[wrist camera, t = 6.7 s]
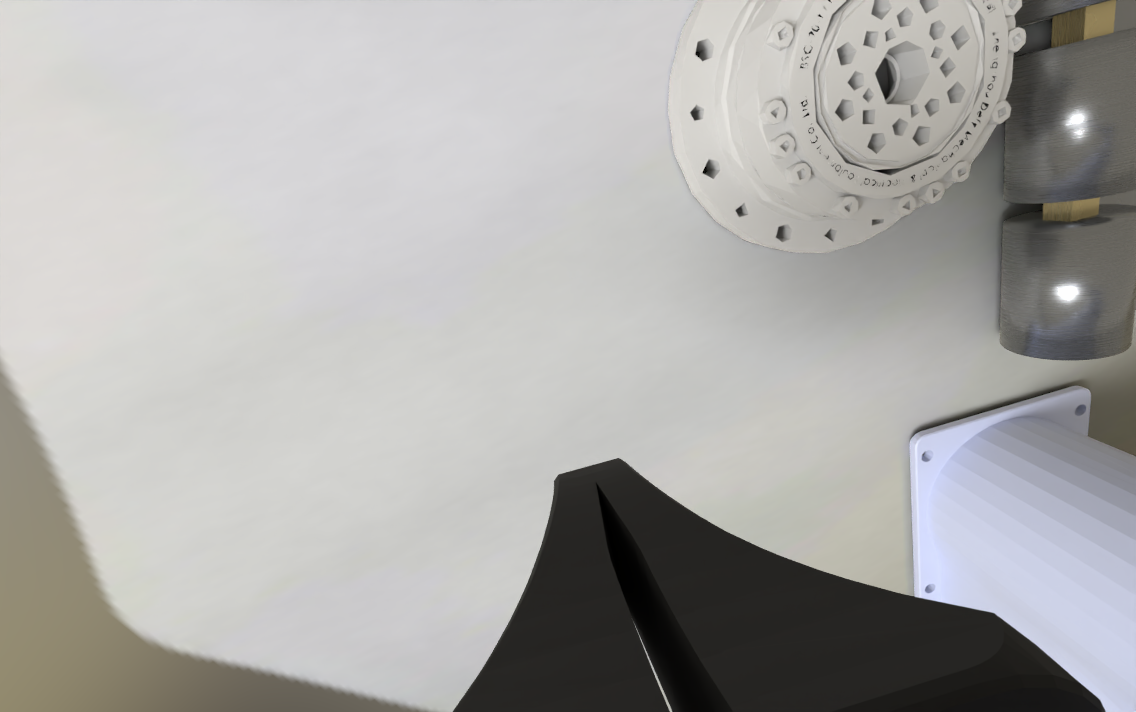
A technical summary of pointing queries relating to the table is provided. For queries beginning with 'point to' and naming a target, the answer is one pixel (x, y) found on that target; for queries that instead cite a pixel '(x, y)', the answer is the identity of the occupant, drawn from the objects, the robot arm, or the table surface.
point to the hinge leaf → (1072, 185)
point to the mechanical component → (835, 110)
